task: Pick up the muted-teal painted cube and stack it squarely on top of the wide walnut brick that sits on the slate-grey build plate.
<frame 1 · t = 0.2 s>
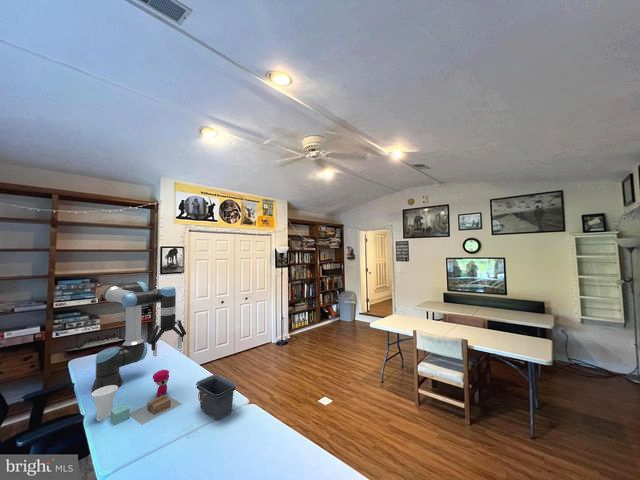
hand: (167, 351, 147), 28 cm above the table, fingers open, 13 cm apart
walnut brick: (158, 408, 138), point 1 cm above the table, touching build plate
cup: (104, 417, 133), on the table
toy: (161, 397, 151), on the table
teal brick: (120, 421, 129), on the table
storage bin: (214, 412, 135), on the table
build plate: (156, 410, 137), on the table
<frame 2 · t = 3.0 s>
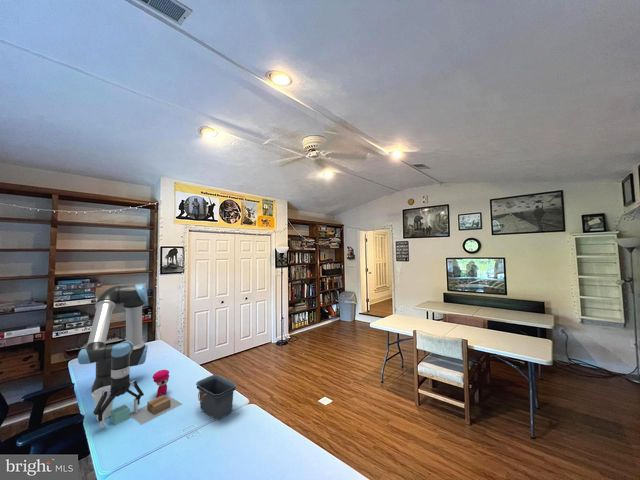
hand: (119, 419, 129), 1 cm above the table, fingers open, 13 cm apart
nothing on the table moved.
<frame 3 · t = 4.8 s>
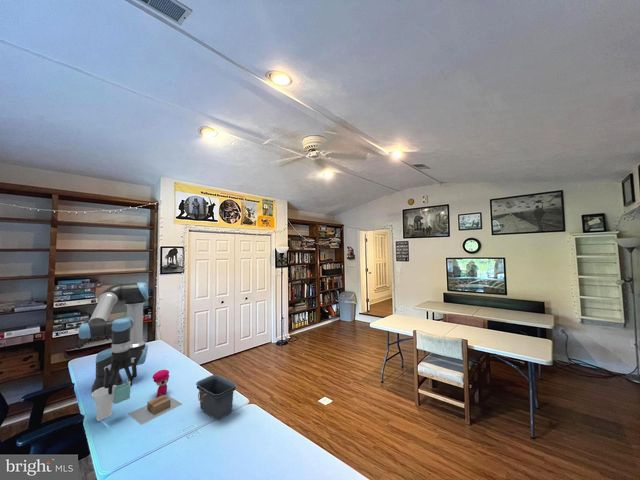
hand: (120, 396, 130), 12 cm above the table, fingers closed on teal brick, 6 cm apart
teal brick: (120, 399, 130), point 11 cm above the table, touching gripper
everything else where it was.
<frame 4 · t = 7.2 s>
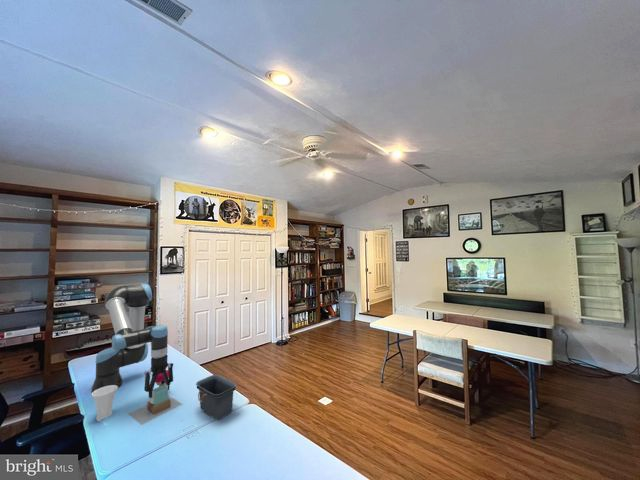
hand: (159, 399, 138), 6 cm above the table, fingers closed on teal brick, 6 cm apart
walnut brick: (158, 408, 138), point 1 cm above the table, touching build plate, teal brick
teal brick: (159, 400, 138), point 5 cm above the table, touching gripper, walnut brick
everything else where it was.
when the fingers open (5 cm above the table, at t = 7.7 s): teal brick stays where it is, resting on walnut brick.
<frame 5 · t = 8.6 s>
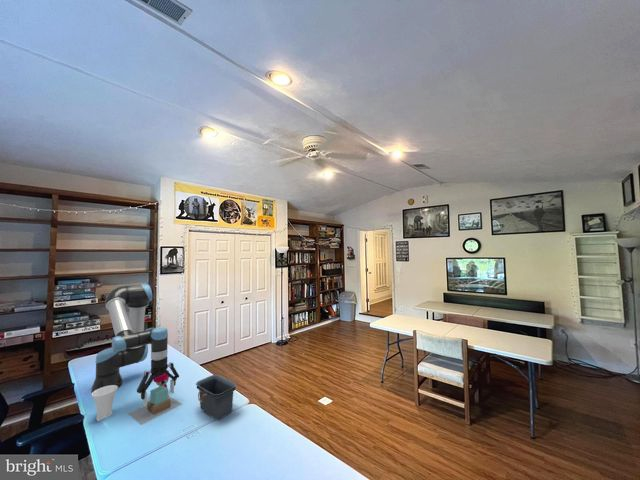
hand: (159, 398, 138), 6 cm above the table, fingers open, 13 cm apart
teal brick: (159, 400, 138), point 5 cm above the table, touching walnut brick
everything else where it was.
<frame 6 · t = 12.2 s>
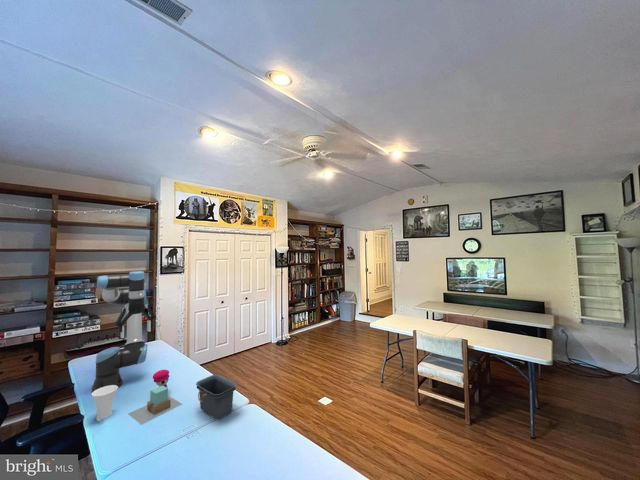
hand: (136, 334, 151), 37 cm above the table, fingers open, 13 cm apart
nothing on the table moved.
at the end: teal brick 0.2 cm off-centre on the walnut brick, point 4.0 cm above the walnut brick's base; teal brick tilted 0°; the gripper is holding nothing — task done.
